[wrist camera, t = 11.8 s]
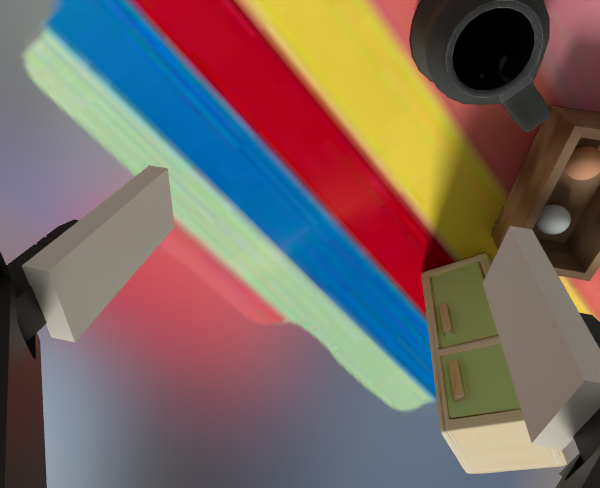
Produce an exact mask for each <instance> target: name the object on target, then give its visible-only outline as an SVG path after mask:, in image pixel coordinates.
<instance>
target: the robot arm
mask: <svg viewBox="0 0 600 488" xmlns="http://www.w3.org/2000/svg"><path fill="white" fill-rule="evenodd" d="M173 228H174V219H173V210H172V202H171V193H170V185H169V177H168V169H167V168H161V167H155V166H148V167H147V168H146V169H144V170H143V171H142V172H140V173H139V174H138V175H137V176H135V177H134V178H133V179H132V180H130V181H129V182H128V183H126V184H125V185H124V186H123V187H121V188H120V189H119V190H118V191H116V192H115V193H114V194H113V195H111V196H110V197H109V198H108V199H106V200H105V201H104V202H102V203H101V204H100V205H99V206H97V207H96V208H95V209H93V210H92V211H91V212H90V213H88V214H87V215H86V216H84V217H83V218H82V219H81V220H72V221H70V222H67V223H65V224H63V225H61V226H58V227H57V228H56V229H55V230H53V231H52V232H50V233H49V234H48V235H47V237H44V238H42V239H41V240H40V241H38V242H37V244H36V245H33V246H32V247H30V248H29V249H28V250H26V251H25V252H24V253H22V254H21V255H20V256H18V257H17V258H16V259H15V260H13V261H12V262H11V263H9V264H8V265H6V263H5V261H4V259H3V257H2V254H1V253H0V488H47V484H46V462H45V441H44V419H43V396H42V376H41V353H40V340H39V337H38V335H37V332H38V331H39V330H40V329H41V328H42V327H43V326H44V325H45V324H46V325H47V327H48V330H49V332H50V334H51V337H53V338H58V339H62V340H67V341H71V342H75V341H76V340H77V339H78V338H79V337H80V336H81V335H82V334H83V333H84V331H85V330H86V329H87V328H88V326H89V325H90V324H91V323H92V322H93V321H94V319H96V317H97V316H98V315H99V314H100V313H101V311H102V310H103V309H104V308H105V307H106V306H107V305H108V303H109V302H110V301H111V300H112V299H113V298H114V296H115V295H116V294H117V293H118V292H119V290H120V289H121V288H122V287H123V286H124V285H125V284H126V283H127V281H128V280H129V279H130V278H131V276H132V275H133V274H134V273H135V272H136V271H137V270H138V269H139V267H140V266H141V265H142V264H143V263H144V262H145V260H146V259H147V258H148V257H149V256H150V255H151V253H152V252H153V251H154V250H155V249H156V248H157V247H158V245H159V244H160V243H161V242H162V241H163V240H164V238H165V237H166V236H167V235H168V234H169V233H170V231H171V230H172V229H173ZM483 286H484V290H485V293H486V296H487V299H488V303H489V306H490V309H491V312H492V316H493V319H494V322H495V325H496V329H497V332H498V335H499V339H500V342H501V345H502V348H503V352H504V355H505V358H506V361H507V365H508V368H509V371H510V375H511V378H512V381H513V384H514V388H515V391H516V394H517V397H518V401H519V404H520V407H521V411H522V414H523V417H524V420H525V424H526V427H527V430H528V433H529V437H530V440H531V443H532V444H535V445H540V446H544V447H549V448H554V449H558V450H563V449H564V448H565V447H566V446H567V445H568V444H569V442H570V441H571V440H572V439H573V438H574V440H575V442H576V445H577V447H578V450H579V452H580V453H579V454H578V455H577V456H576V457H575V459H573V460H572V462H570V463H569V464H568V465H567V466H566V467H565V468H564V469H563V470H562V472H560V473H559V474H560V475H561V476H562V479H561V480H560V482H559V483H558V485H557V487H556V488H600V322H599V321H598V320H597V319H596V318H595V317H593V316H592V315H589V314H584V313H579V312H578V310H577V308H576V306H575V305H574V303H573V301H572V299H571V298H570V296H569V294H568V292H567V290H566V289H565V287H564V285H563V283H562V282H561V280H560V278H559V276H558V275H557V273H556V271H555V269H554V268H553V266H552V264H551V262H550V260H549V259H548V257H547V255H546V253H545V252H544V250H543V248H542V246H541V245H540V243H539V241H538V239H537V238H536V236H535V234H534V232H533V230H532V229H526V228H520V227H514V226H510V227H509V229H508V231H507V233H506V235H505V237H504V239H503V241H502V244H501V246H500V248H499V250H498V252H497V254H496V256H495V258H494V260H493V262H492V265H491V267H490V269H489V271H488V273H487V275H486V277H485V279H484V281H483Z"/></svg>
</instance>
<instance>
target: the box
mask: <svg viewBox="0 0 600 488" xmlns="http://www.w3.org/2000/svg"><path fill="white" fill-rule="evenodd" d="M548 109H549V111H550V114H551V117H550V118H549V119H548V120H546V121H545V122H543V123H541V125H540V127H539V129H538V131H537V133H536V136H535V138H534V140H533V142H532V144H531V147H530V149H529V151H528V153H527V156H526V158H525V160H524V162H523V164H522V167H521V169H520V171H519V173H518V175H517V178H516V180H515V182H514V184H513V186H512V189H511V191H510V193H509V195H508V197H507V200H506V202H505V204H504V206H503V209H502V211H501V213H500V215H499V217H498V220H497V222H496V224H495V226H494V228H493V231H492V233H491V234H492V236H493V239H494V241H495V244H496V246H497V249H498V250H499V248H500V246H501V244H502V241H503V239H504V237H505V235H506V233H507V231H508V229H509V227H510V226H514V227H520V228H526V229H532V230H533V232H534V234H535V236H536V238H537V239H538V241H539V243H540V245H541V246H542V248H543V250H544V252H545V253H546V255H547V257H548V259H549V260H550V262H551V264H552V266H553V268H554V269H555V271H556V273H557V275H559V276H564V277H570V278H575V279H581V280H586V281H590V280H591V278H592V277H593V275H594V274H595V272H596V271H597V269H598V268H599V267H600V173H599V174H597V175H596V176H595V177H593V178H590V179H587V180H576V179H573V178H571V177H569V176H568V175H567V174H566V172H565V171H564V168H565V166H566V164H567V162H568V160H569V158H570V157H571V155H572V153H573V151H574V149H576V148H579V147H584V146H588V147H593V148H596V149H598V150H599V151H600V112H593V111H586V110H579V109H572V108H564V107H557V106H550V105H549V107H548ZM552 204H555V205H560V206H563V207H564V208H566V209H567V210H568V212H569V213H570V216H571V222H570V225H569V227H568V228H567V229H566V230H565V231H563V232H561V233H559V234H554V235H551V234H546V233H543V232H542V231H540V230H539V229H538V228H537V226H536V224H535V223H536V222H537V220H538V218H539V216H540V214H541V212H542V210H543V208H544V206H547V205H552Z"/></svg>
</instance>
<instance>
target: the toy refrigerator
mask: <svg viewBox="0 0 600 488" xmlns="http://www.w3.org/2000/svg"><path fill="white" fill-rule="evenodd" d="M490 267H491V262H490V260H489V257H488V255H487V253H483V254H480V255H477V256H473V257H470V258H467V259H464V260H461V261H458V262H455V263H451V264H448V265H445V266H442V267H438V268H435V269H432V270H429V271H425V272H423V273H422V283H423V290H424V298H425V307H426V314H427V323H428V331H429V339H430V347H431V356H432V364H433V373H434V381H435V389H436V397H437V405H438V413H439V422H440V429H441V432H442V435H443V436H444V438H445V439H446V441H447V443H448V444H449V446H450V447H451V449H452V451H453V452H454V454H455V456H456V457H457V459H458V461H459V462H460V464H461V465H462V467H463V469H464V470H465V471H466V472H467V473H470V474H477V473H478V474H480V473H492V472H502V471H512V470H523V469H536V468H546V467H558V466H563V465H566V464H567V459H566V457H565V454H564V451H563V450H558V449H554V448H549V447H544V446H540V445H535V444H532V443H531V440H530V437H529V433H528V430H527V427H526V424H525V420H524V417H523V414H522V411H521V407H520V404H519V401H518V397H517V394H516V391H515V388H514V384H513V381H512V378H511V375H510V371H509V368H508V365H507V361H506V358H505V355H504V352H503V348H502V345H501V342H500V339H499V335H498V332H497V329H496V325H495V322H494V319H493V316H492V312H491V309H490V306H489V303H488V299H487V296H486V293H485V290H484V286H483V281H484V279H485V277H486V275H487V273H488V271H489V269H490Z"/></svg>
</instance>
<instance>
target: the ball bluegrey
mask: <svg viewBox="0 0 600 488" xmlns="http://www.w3.org/2000/svg"><path fill="white" fill-rule="evenodd" d="M570 222H571V216H570V213H569V212H568V210H567V209H566V208H564V207H563V206H560V205H555V204H552V205H547V206H544V208H543V210H542V212H541V214H540V216H539V218H538V220H537V222H536V223H535V224H536V226H537V228H538V229H539V230H540V231H542V232H543V233H546V234H551V235H554V234H559V233H561V232H563V231H565V230H566V229H567V228H568V227H569V225H570Z"/></svg>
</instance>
